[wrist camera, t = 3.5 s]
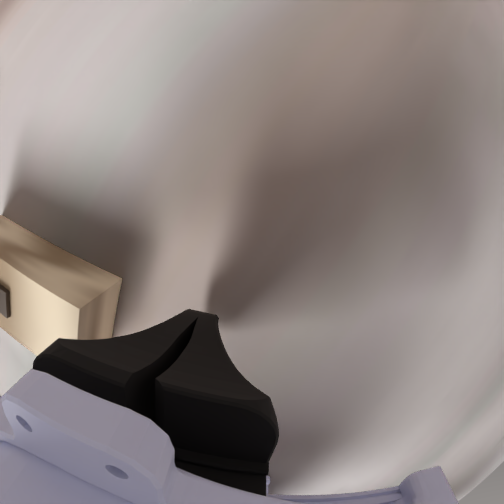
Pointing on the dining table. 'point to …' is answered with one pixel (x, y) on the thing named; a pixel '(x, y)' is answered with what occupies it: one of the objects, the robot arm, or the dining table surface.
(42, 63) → the dining table surface
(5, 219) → the bar
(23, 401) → the robot arm
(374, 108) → the dining table surface
